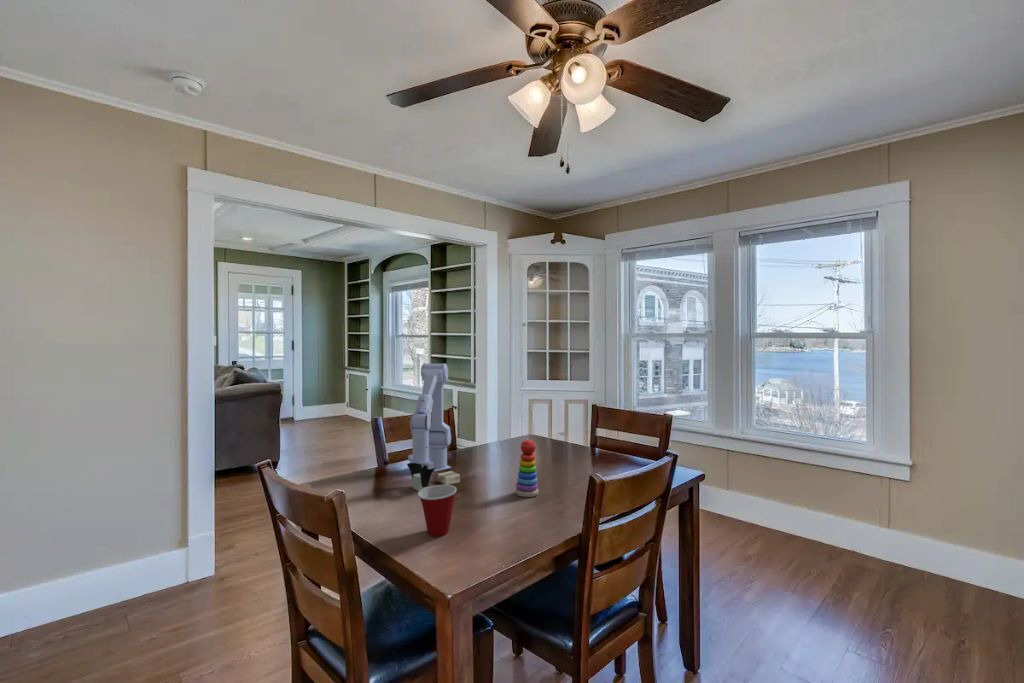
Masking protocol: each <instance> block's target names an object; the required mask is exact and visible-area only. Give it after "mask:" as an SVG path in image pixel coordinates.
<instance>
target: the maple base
mask: <svg viewBox="0 0 1024 683" xmlns="http://www.w3.org/2000/svg"><path fill="white" fill-rule="evenodd" d="M437 482H439V483H441V484H442V485H452V484H457V483H460V482H461V474H459V473H457V472H455V471H453V470H449V471H444V472H441V473H437Z"/></svg>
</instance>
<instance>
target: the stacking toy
mask: <svg viewBox="0 0 1024 683" xmlns="http://www.w3.org/2000/svg"><path fill="white" fill-rule="evenodd" d="M520 450H521V452H522V453H521V454H520V460H519V466H518V470H519V471H518V472H517V476H518V477H517V478H516V480H517V482H516V484H515V487H516V488H515V494H516V495H517V496H519V497H521V498H533V497H536V496H537V495H538V494H539V491H540V490H539V489H538V478H537V476H538V474H537V466H536V460H535V459H536V456H535V454H534V452H535V450H536V445H535V442H534V441H533V440H531V439H525V440H523V441H522V442H521V444H520Z"/></svg>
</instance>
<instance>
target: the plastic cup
mask: <svg viewBox="0 0 1024 683" xmlns="http://www.w3.org/2000/svg"><path fill="white" fill-rule="evenodd" d="M456 493H457V487H456V486H454V485H452V484H449V485H445V484H437V485H430V486H428V487H427V488H424V489H422V490H420V491H417V496H418V498H419V500H420V502H421V504H422V509H423V514H424V521H425V525H426V532H427V534H428V535H429V536H431V537H437V538H438V537H443V536H446V535H448V533H449V530H450V526H451V521H452V515H453V508H454V502H455V496H456Z"/></svg>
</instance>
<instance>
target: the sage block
mask: <svg viewBox="0 0 1024 683" xmlns="http://www.w3.org/2000/svg"><path fill="white" fill-rule="evenodd" d="M413 488H414V490H415V489H416V491H417V490H418V491H417V492H419V491H420V490H422V489H424V488H427V487H424V488H423V487H422V484H421V476H420V473H418V474H413V479H412V489H413Z"/></svg>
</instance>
